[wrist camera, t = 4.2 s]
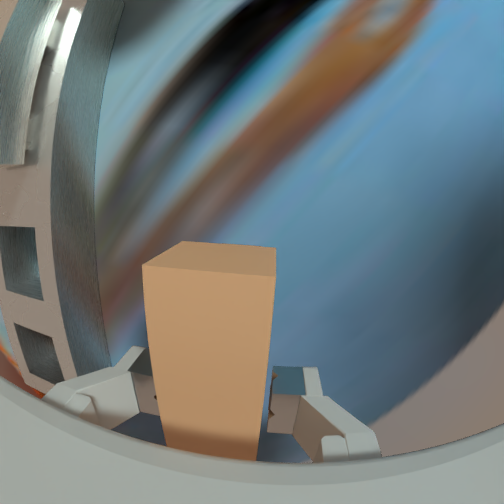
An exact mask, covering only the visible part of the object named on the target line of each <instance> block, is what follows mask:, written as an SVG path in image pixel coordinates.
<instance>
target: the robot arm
mask: <svg viewBox="0 0 504 504" xmlns="http://www.w3.org/2000/svg"><path fill="white" fill-rule="evenodd" d="M268 410H269V412H268V423H267V432H271V433H284V434H292V435H293V437H294V438H295V439H296V440H297V442H298V443H299V444H300V446H301V447H302V448H303V449H304V451H305V452H306V453H307V454H308V456H309V457H310V458H311V459H312V461H313V462H312V463H283V462H264V461H251V460H241V459H232V458H225V457H218V456H211V455H205V454H200V453H194V452H189V451H184V450H179V449H175V448H171V447H166V446H162V445H158V444H154V443H151V442H147V441H144V440H140V439H137V438H133V437H130V436H127V435H124V434H121V433H118V432H115V431H112V430H111V429H112V428H114V427H116V426H118V425H119V424H121V423H123V422H124V421H126V420H128V419H130V418H131V417H133V416H135V415H136V414H138V413H139V411H140V412H144V413H149V414H153V415H158V416H160V412H159V407H158V402H157V396H156V391H155V385H154V379H153V372H152V365H151V358H150V351H149V348H145V347H140V346H132V347H131V348H130V349H129V350H128V352H127V353H126V354H125V355H124V356H123V357H122V358H121V360H120V361H119V362H118V363H117V364H116V365H115V366H114V367H107V368H104V369H101V370H98V371H95V372H92V373H89V374H86V375H82V376H79V377H76V378H73V379H69V380H66V381H63V382H59V383H57V384H56V385H55V386H54V387H53V388H52V389H51V390H50V391H49V392H48V393H47V394H46V395H45V396H44V397H43V398H42V399H39V398H37V397H35V396H33V395H31V394H30V393H28V392H26V391H24V390H23V389H21V388H19V387H17V386H16V385H14V384H13V383H11V382H9V381H7V380H6V379H5V378H3V377H1V376H0V504H504V423H503V424H501V425H499V426H496V427H494V428H491V429H488V430H486V431H483V432H480V433H478V434H475V435H472V436H469V437H466V438H463V439H460V440H457V441H453V442H450V443H446V444H443V445H439V446H436V447H431V448H428V449H423V450H419V451H414V452H409V453H404V454H398V455H392V456H386V457H382V454H381V451H380V448H379V445H378V442H377V439H376V436H375V433H374V431H372V430H371V429H370V428H368V427H367V426H366V425H364V424H363V423H362V422H360V421H359V420H358V419H356V418H355V417H354V416H352V415H351V414H350V413H348V412H347V411H346V410H345V409H343V408H342V407H341V406H339V405H338V404H337V403H336V402H334V401H333V400H332V399H330V398H329V397H328V396H323V393H322V388H321V383H320V378H319V373H318V368H317V367H286V366H273V370H272V380H271V386H270V395H269V406H268Z"/></svg>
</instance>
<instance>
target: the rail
mask: <svg viewBox="0 0 504 504" xmlns="http://www.w3.org/2000/svg"><path fill="white" fill-rule="evenodd" d="M124 5H125V4H124V3H123V2H122V1H121V0H1V1H0V306H1V310H2V314H3V318H4V322H5V326H6V329H7V333H8V336H9V340H10V343H11V346H12V349H13V352H14V355H15V358H16V361H17V363H18V366H19V369H20V371H21V374H22V376H23V379H24V381H25V384H27V385H29V386H31V387H33V388H35V389H37V390H39V391H40V392H42V393H44V394H47V393H48V392H49V391H50V390H51V389H52V388H53V387H54V386H55V385H56V384H57V383H59V382H63V381H66V380H69V379H73V378H76V377H79V376H82V375H86V374H89V373H92V372H95V371H98V370H101V369H104V368H107V367H112V366H111V361H110V357H109V352H108V347H107V342H106V336H105V330H104V325H103V318H102V312H101V304H100V297H99V288H98V279H97V268H96V255H95V237H94V173H95V156H96V143H97V133H98V124H99V115H100V108H101V101H102V95H103V89H104V83H105V78H106V73H107V68H108V63H109V59H110V54H111V50H112V46H113V42H114V38H115V34H116V31H117V27H118V24H119V20H120V17H121V14H122V11H123V8H124Z"/></svg>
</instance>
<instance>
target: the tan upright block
mask: <svg viewBox="0 0 504 504" xmlns="http://www.w3.org/2000/svg"><path fill="white" fill-rule="evenodd" d="M142 271H143V289H144V303H145V314H146V325H147V334H148V343H149V351H150V358H151V365H152V372H153V379H154V385H155V391H156V396H157V402H158V407H159V412H160V417H161V422H162V427H163V431H164V436H165V440H166V444H167V447H171V448H175V449H179V450H184V451H189V452H194V453H200V454H205V455H211V456H218V457H225V458H232V459H241V460H251V461H256V457H257V450H258V442H259V434H260V426H261V418H262V409H263V401H264V392H265V383H266V374H267V365H268V355H269V346H270V336H271V325H272V315H273V304H274V293H275V282H276V248H272V247H261V246H250V245H236V244H216V243H202V242H188V241H182V242H180V243H178V244H177V245H175V246H173V247H172V248H170V249H168V250H167V251H165V252H163V253H161V254H160V255H158V256H156V257H155V258H153V259H151V260H150V261H148V262H146V263H145V264H143V265H142Z"/></svg>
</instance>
